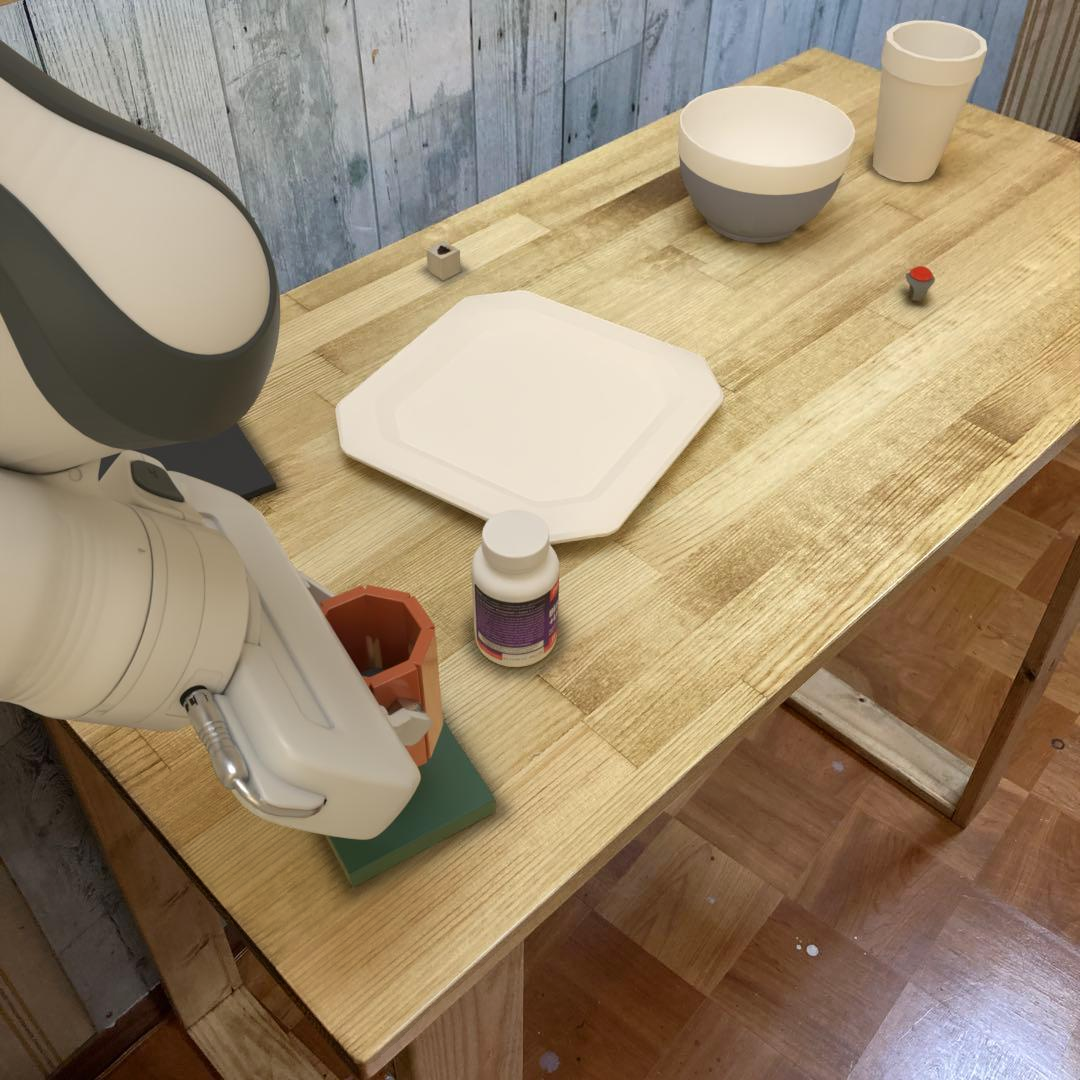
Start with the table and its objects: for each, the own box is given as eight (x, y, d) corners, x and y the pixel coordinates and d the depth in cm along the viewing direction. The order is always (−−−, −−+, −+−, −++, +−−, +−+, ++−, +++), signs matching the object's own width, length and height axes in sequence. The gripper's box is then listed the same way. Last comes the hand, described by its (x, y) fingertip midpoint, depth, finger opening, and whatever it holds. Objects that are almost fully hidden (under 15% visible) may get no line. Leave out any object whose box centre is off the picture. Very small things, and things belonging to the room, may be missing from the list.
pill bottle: (567, 660, 72) (572, 556, 65) (485, 677, 71) (481, 574, 64) (544, 598, 76) (547, 493, 69) (466, 613, 75) (460, 509, 68)
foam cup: (838, 163, 117) (865, 36, 108) (894, 136, 122) (925, 12, 112) (912, 199, 112) (948, 70, 103) (968, 170, 117) (1007, 43, 107)
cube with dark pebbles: (461, 271, 103) (459, 247, 101) (443, 280, 102) (441, 256, 100) (445, 261, 104) (444, 237, 102) (427, 271, 103) (425, 246, 101)
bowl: (721, 278, 102) (735, 181, 96) (640, 195, 112) (648, 102, 106) (867, 241, 107) (891, 146, 100) (777, 165, 117) (793, 73, 110)
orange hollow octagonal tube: (352, 799, 58) (334, 705, 52) (305, 712, 61) (282, 616, 55) (460, 746, 60) (454, 652, 54) (408, 666, 63) (396, 569, 58)
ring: (926, 290, 101) (935, 262, 99) (930, 307, 100) (939, 278, 98) (898, 289, 102) (906, 260, 99) (901, 305, 100) (910, 276, 98)
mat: (114, 549, 79) (112, 543, 78) (67, 450, 86) (65, 444, 85) (276, 488, 83) (275, 482, 83) (219, 398, 90) (217, 392, 90)
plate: (586, 584, 77) (587, 562, 75) (305, 451, 86) (301, 429, 84) (743, 391, 91) (747, 369, 90) (489, 295, 100) (488, 273, 99)
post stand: (352, 888, 61) (329, 790, 54) (287, 765, 67) (259, 662, 59) (496, 812, 65) (492, 710, 57) (423, 701, 70) (412, 595, 63)
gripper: (287, 750, 40) (526, 778, 50) (117, 426, 52) (338, 504, 63) (192, 871, 41) (443, 874, 52) (48, 529, 54) (275, 588, 64)
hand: (384, 670), depth 57 cm, fingers closed on orange hollow octagonal tube, 6 cm apart
